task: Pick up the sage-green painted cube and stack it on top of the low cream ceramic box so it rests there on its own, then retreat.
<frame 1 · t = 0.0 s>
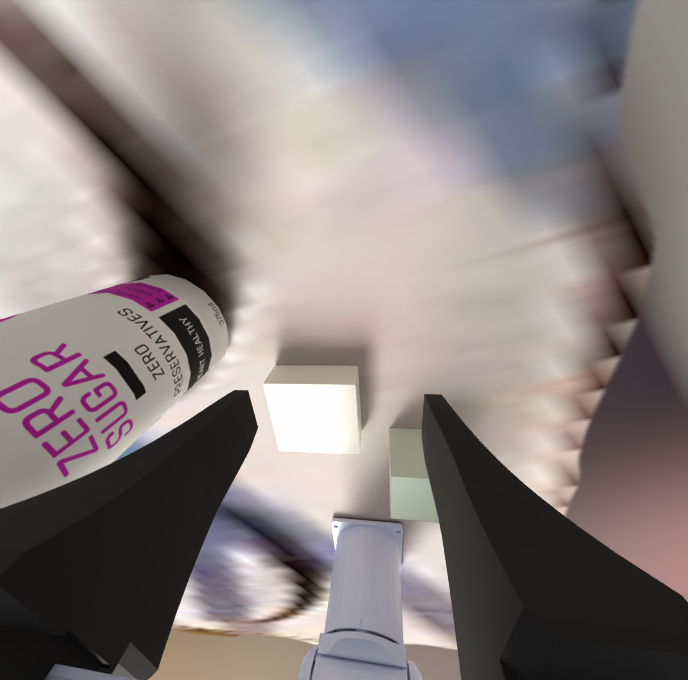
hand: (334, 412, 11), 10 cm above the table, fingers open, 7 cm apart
cream box: (321, 397, 24), on the table
supplement can: (186, 321, 22), on the table
green cube: (416, 448, 25), on the table
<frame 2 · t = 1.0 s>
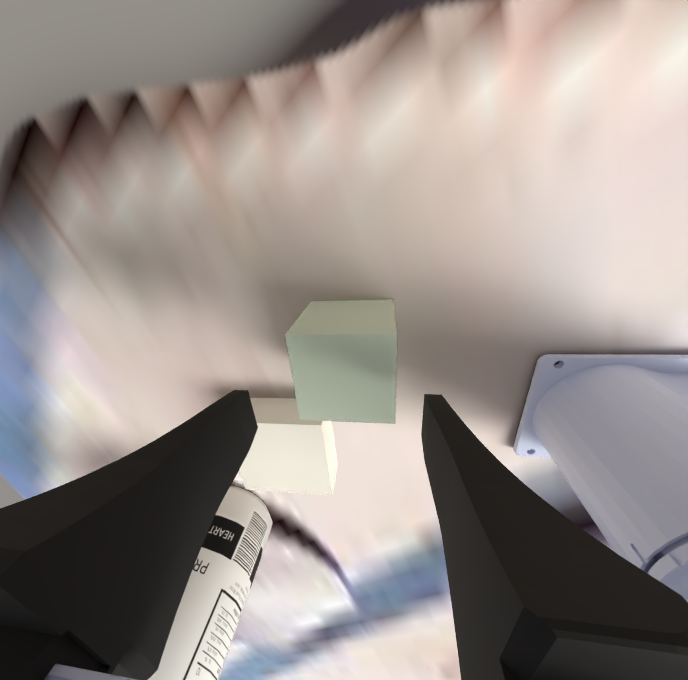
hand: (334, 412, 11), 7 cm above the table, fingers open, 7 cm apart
cream box: (292, 430, 22), on the table
supplement can: (236, 505, 28), on the table
green cube: (353, 337, 17), on the table
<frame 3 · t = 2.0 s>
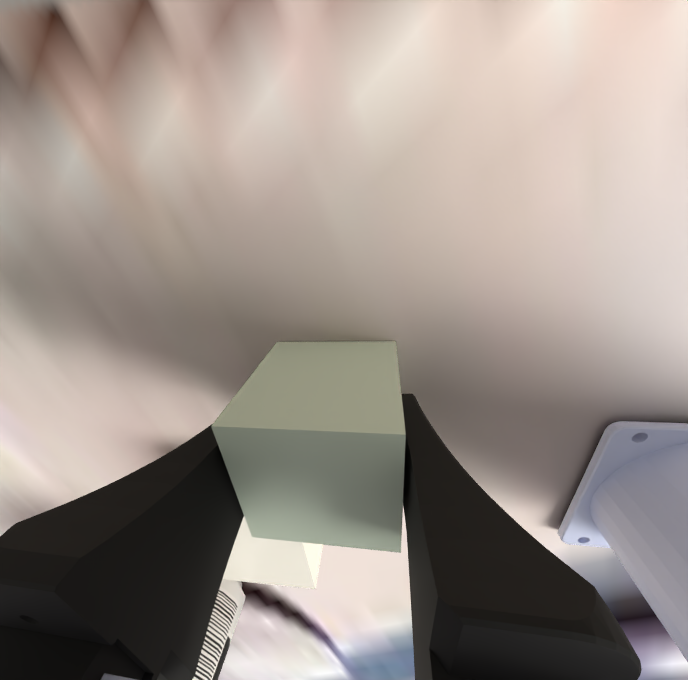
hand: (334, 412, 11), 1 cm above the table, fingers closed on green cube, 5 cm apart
cream box: (264, 495, 17), on the table
supplement can: (202, 572, 22), on the table
green cube: (339, 390, 12), on the table, touching gripper
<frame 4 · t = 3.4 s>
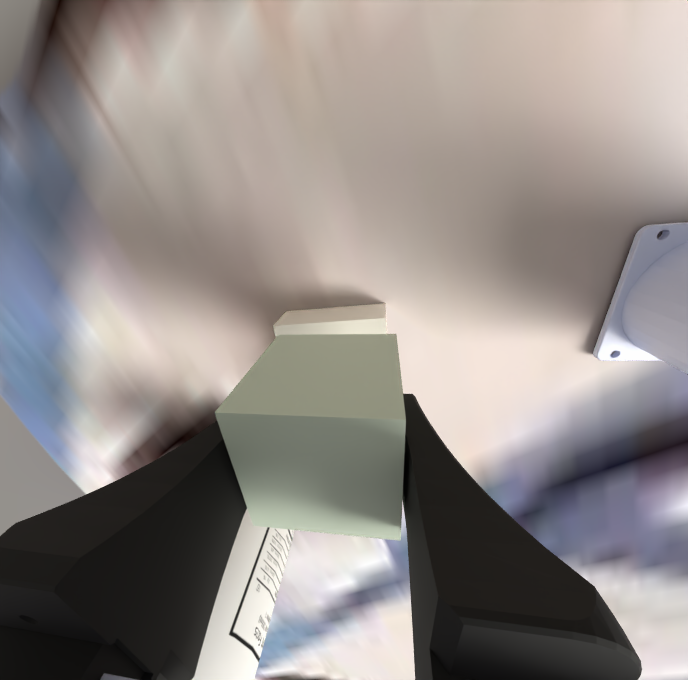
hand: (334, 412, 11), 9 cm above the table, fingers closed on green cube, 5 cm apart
cream box: (341, 349, 20), on the table
supplement can: (273, 447, 26), on the table
green cube: (339, 383, 12), point 7 cm above the table, touching gripper
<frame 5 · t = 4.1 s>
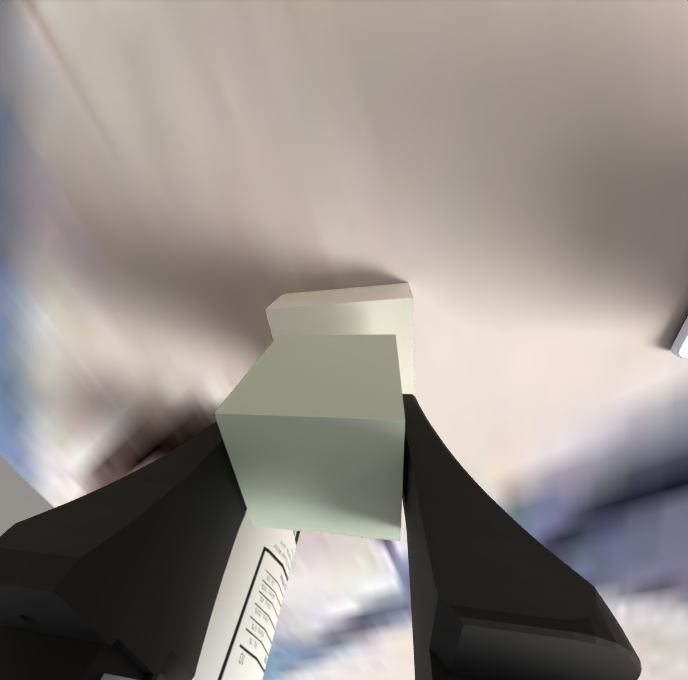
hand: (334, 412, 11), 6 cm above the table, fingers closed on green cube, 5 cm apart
cream box: (350, 342, 17), on the table
supplement can: (267, 458, 22), on the table
green cube: (339, 384, 12), point 4 cm above the table, touching gripper
when the fingers open (6 cm above the table, at t = 4.7 s): green cube drops 1 cm, resting on cream box.
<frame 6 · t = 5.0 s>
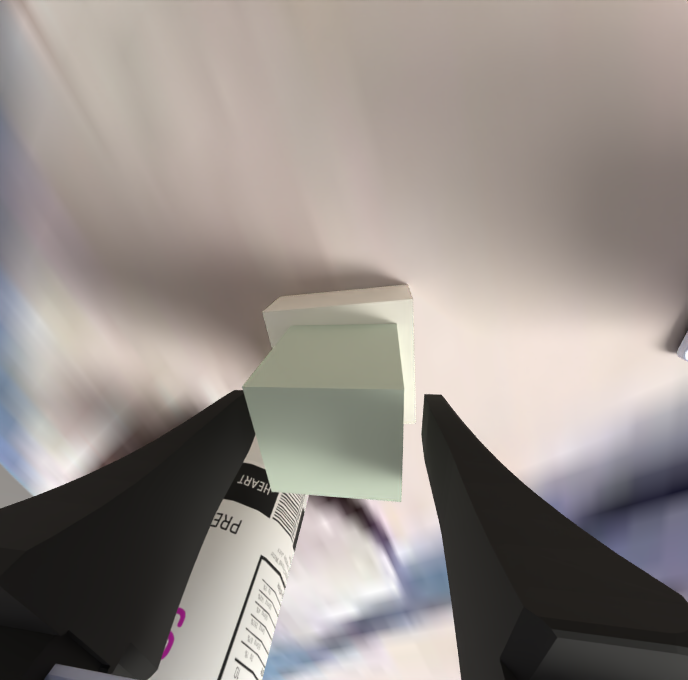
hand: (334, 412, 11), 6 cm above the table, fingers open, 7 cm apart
cream box: (350, 344, 16), on the table, touching green cube
supplement can: (265, 462, 22), on the table
green cube: (345, 370, 14), point 3 cm above the table, touching cream box
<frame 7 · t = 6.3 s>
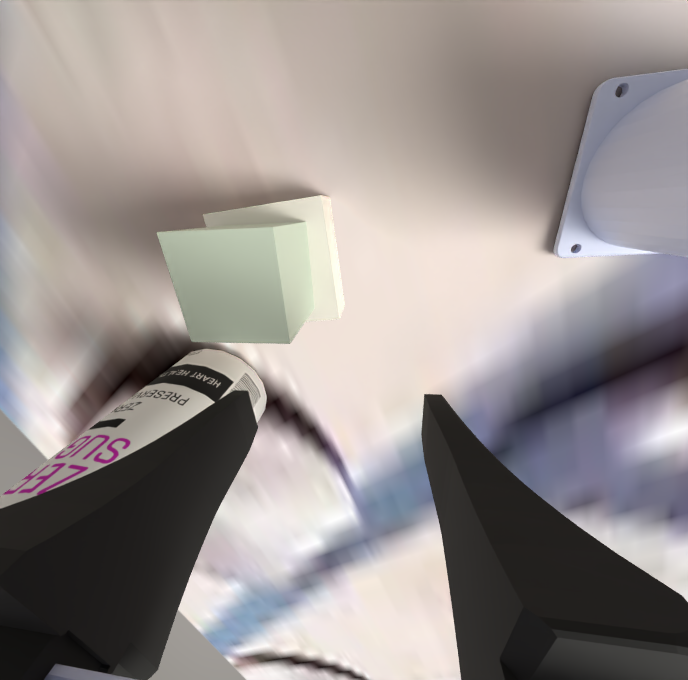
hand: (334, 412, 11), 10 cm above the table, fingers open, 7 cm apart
cream box: (289, 260, 19), on the table, touching green cube
supplement can: (226, 384, 24), on the table
green cube: (270, 268, 16), point 3 cm above the table, touching cream box
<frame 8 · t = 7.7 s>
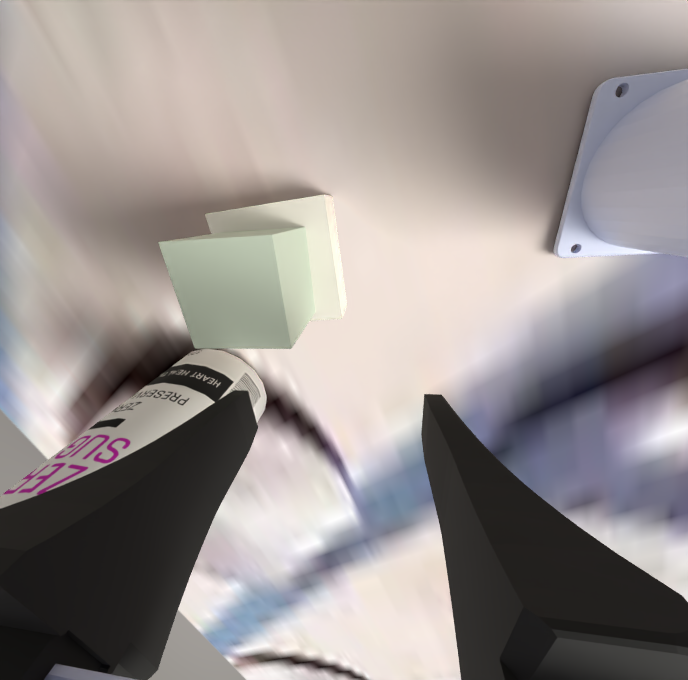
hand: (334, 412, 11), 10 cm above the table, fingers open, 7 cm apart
cream box: (292, 260, 19), on the table, touching green cube
supplement can: (226, 384, 24), on the table
green cube: (270, 273, 16), point 3 cm above the table, touching cream box
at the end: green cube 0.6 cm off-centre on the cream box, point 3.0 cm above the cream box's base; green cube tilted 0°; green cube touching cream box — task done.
